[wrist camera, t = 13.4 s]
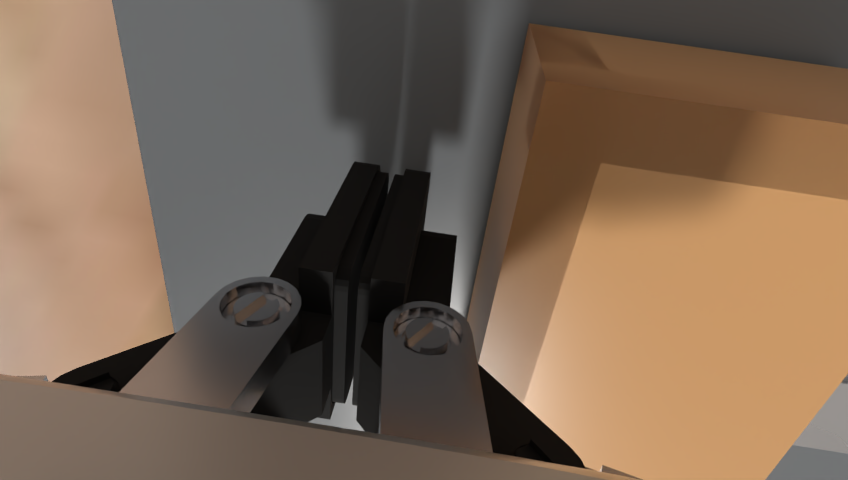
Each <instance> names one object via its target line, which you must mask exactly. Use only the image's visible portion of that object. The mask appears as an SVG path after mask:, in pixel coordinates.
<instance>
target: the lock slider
mask: <svg viewBox="0 0 848 480" xmlns="http://www.w3.org/2000/svg"><path fill="white" fill-rule="evenodd" d="M467 321H468V323H469V325H470V328H471V330H472V334H473V339H474V345H475V351H476V357H477V363H478V364H479V365H480V366H482V367H483V368H484V369H485V370H486V371H487V372H488V373H489V374H490V375H491V376H493V377H494V378H495V379H496V380H497V381H498V382H499V383H500V384H501V385H503V386H504V387H505V388H506V389H507V390H508V391H509V392H510V393H511V394H512V395H514V396H515V397H516V398H517V399H518V400H519V401H520V402H521V403H522V404H524V405H525V406H526V407H527V408H528V409H529V410H530V411H531V412H532V413H533V414H535V415H536V416H537V417H538V418H539V419H540V420H541V421H542V422H543V423H545V424H546V425H547V426H548V427H549V428H550V429H551V430H552V431H553V432H554V433H556V434H557V435H558V436H559V437H560V438H561V439H562V440H563V441H564V442H566V443H567V444H568V445H569V446H570V447H571V448H572V449H573V450H574V452H575V453H576V454H577V455H578V456H579V457H580V459H581V460H582V462H583V464H584V466H585V467H588V468H591V469H593V470H596V471H600V469H601V467H602V465H604V466H607V467H610V468H613V469H615V470H618V471H621V472H624V473H626V474H629V475H632V476H635V477H637V478H640V479H643V480H765V479H766V478H767V477H768V476H769V474H770V473H771V472H772V470H773V469H774V468H775V467H776V465H777V464H778V463H779V461H780V460H781V459H782V458H783V456H784V455H785V454H786V452H787V451H788V450H789V449H790V447H791V446H792V445H793V444H794V442H795V441H796V440H797V438H798V437H799V436H800V435H801V433H802V432H803V431H804V429H805V428H806V427H807V426H808V424H809V423H810V422H811V420H812V419H813V418H814V417H815V415H816V414H817V413H818V411H819V410H820V409H821V408H822V406H823V405H824V404H825V403H826V401H827V400H828V399H829V397H830V396H831V395H832V394H833V392H834V391H835V390H836V388H837V387H838V386H839V385H840V383H841V382H842V381H843V379H844V378H845V377H846V376H847V374H848V69H845V68H838V67H831V66H824V65H817V64H810V63H803V62H796V61H789V60H782V59H775V58H769V57H762V56H755V55H748V54H741V53H734V52H727V51H720V50H713V49H706V48H699V47H692V46H685V45H678V44H671V43H664V42H657V41H650V40H643V39H636V38H629V37H622V36H615V35H608V34H601V33H594V32H587V31H580V30H573V29H566V28H559V27H552V26H545V25H538V24H531V23H529V25H528V30H527V35H526V39H525V44H524V49H523V54H522V59H521V63H520V68H519V73H518V78H517V82H516V87H515V92H514V97H513V102H512V106H511V111H510V116H509V121H508V125H507V130H506V135H505V140H504V145H503V149H502V154H501V159H500V164H499V168H498V173H497V178H496V183H495V188H494V192H493V197H492V202H491V207H490V211H489V216H488V221H487V226H486V231H485V235H484V240H483V245H482V250H481V254H480V259H479V264H478V269H477V274H476V278H475V283H474V288H473V293H472V297H471V302H470V307H469V312H468V317H467Z"/></svg>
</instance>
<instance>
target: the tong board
mask: <svg viewBox="0 0 848 480" xmlns="http://www.w3.org/2000/svg"><path fill="white" fill-rule="evenodd" d="M112 3H113V9H114V14H115V19H116V25H117V30H118V35H119V40H120V46H121V51H122V56H123V62H124V67H125V72H126V78H127V83H128V88H129V94H130V99H131V104H132V109H133V115H134V120H135V125H136V131H137V136H138V141H139V147H140V152H141V157H142V163H143V168H144V173H145V178H146V184H147V189H148V194H149V200H150V205H151V210H152V216H153V221H154V226H155V232H156V237H157V242H158V247H159V253H160V258H161V263H162V269H163V274H164V279H165V285H166V290H167V295H168V301H169V306H170V311H171V316H172V322H173V327H174V332H175V333H177V332H178V331H179V330H180V329H181V328H182V327H183V326H184V325H185V324H186V323H187V322H188V321H189V320H190V319H191V318H192V317H193V316H194V315H195V314H196V313H197V312H198V311H199V310H200V309H201V308H202V307H203V306H204V305H205V304H206V303H207V302H208V301H209V300H210V299H211V298H212V297H213V296H214V294H215V293H216V292H218V291H219V290H220V289H222V288H223V287H224V286H226V285H228V284H230V283H232V282H234V281H237V280H240V279H244V278H249V277H262V276H265V277H270V275H271V273H272V272H273V270H274V268H275V266H276V265H277V263H278V261H279V260H280V258H281V256H282V255H283V253H284V251H285V250H286V248H287V246H288V244H289V243H290V241H291V239H292V238H293V236H294V234H295V233H296V231H297V229H298V228H299V226H300V224H301V222H302V221H303V219H304V217H305V216H306V215H307V214H316V215H323V216H326V214H327V212H328V210H329V208H330V206H331V204H332V202H333V201H334V199H335V197H336V195H337V193H338V191H339V189H340V187H341V185H342V183H343V182H344V180H345V178H346V176H347V174H348V172H349V170H350V168H351V166H352V165H353V163H354V161H355V162H362V163H369V164H376V165H380V169H381V172H385V173H389V184H388V192H389V189H390V187H391V184H392V181H393V178H394V175H395V174H398V175H404V172H405V170H406V169H410V170H417V171H424V172H431V176H430V185H429V193H428V201H427V209H426V217H425V224H424V231H431V232H437V233H444V234H451V235H457V243H456V253H455V263H454V273H453V283H452V293H451V303H450V307H451V308H453V309H454V310H456V311H457V312H459V313H460V314H461V315H462V316H463V317H464V318H465V319H466V320H467V317H468V312H469V307H470V302H471V297H472V293H473V288H474V283H475V278H476V274H477V269H478V264H479V259H480V254H481V250H482V245H483V240H484V235H485V231H486V226H487V221H488V216H489V211H490V207H491V202H492V197H493V192H494V188H495V183H496V178H497V173H498V168H499V164H500V159H501V154H502V149H503V145H504V140H505V135H506V130H507V125H508V121H509V116H510V111H511V106H512V102H513V97H514V92H515V87H516V82H517V78H518V73H519V68H520V63H521V59H522V54H523V49H524V44H525V39H526V35H527V30H528V25H529V23H531V24H538V25H545V26H552V27H559V28H566V29H573V30H580V31H587V32H594V33H601V34H608V35H615V36H622V37H629V38H636V39H643V40H650V41H657V42H664V43H671V44H678V45H685V46H692V47H699V48H706V49H713V50H720V51H727V52H734V53H741V54H748V55H755V56H762V57H769V58H775V59H782V60H789V61H796V62H803V63H810V64H817V65H824V66H831V67H838V68H845V69H848V0H112ZM352 394H353V380H352V383H351V386H350V390H349V393H348V397H347V400H346V402H345V404H344V403H337V402H336V403H335V406H334V409H333V412H332V416H331V419H323V418H315V419H313V420H311V421H309V422H310V423H316V424H322V425H328V426H334V427H341V428H347V429H353V430H359V431H364V430H363V428H362V427H361V426H360V425H359V423H358V422H357V421H356V415H357V406H355V405H352ZM765 480H848V454H846V453H840V452H834V451H827V450H821V449H815V448H808V447H802V446H796V445H792V446H791V447H790V449H789V450H788V451H787V452H786V454H785V455H784V456H783V458H782V459H781V460H780V461H779V463H778V464H777V465H776V467H775V468H774V469H773V470H772V472H771V473H770V474H769V476H768V477H767V478H766V479H765Z"/></svg>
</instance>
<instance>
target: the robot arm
mask: <svg viewBox="0 0 848 480" xmlns="http://www.w3.org/2000/svg"><path fill="white" fill-rule="evenodd" d="M430 176H431V172H424V171H417V170H410V169H406V170H405V172H404V175H398V174H395V175H394V178H393V181H392V184H391V187H390V189H389V192H388V184H389V173H385V172H381V169H380V165H376V164H369V163H362V162H355V161H354V163H353V165H352V166H351V168H350V170H349V172H348V174H347V176H346V178H345V180H344V182H343V183H342V185H341V187H340V189H339V191H338V193H337V195H336V197H335V199H334V201H333V202H332V204H331V206H330V208H329V210H328V212H327V214H326V216H323V215H316V214H307V215H306V216H305V217H304V219H303V221H302V222H301V224H300V226H299V228H298V229H297V231H296V233H295V234H294V236H293V238H292V239H291V241H290V243H289V244H288V246H287V248H286V250H285V251H284V253H283V255H282V256H281V258H280V260H279V261H278V263H277V265H276V266H275V268H274V270H273V272H272V273H271V275H270V277H265V276H262V277H249V278H244V279H240V280H237V281H234V282H232V283H230V284H228V285H226V286H224V287H223V288H222V289H220V290H219V291H218V292H216V293H215V294H214V296H213V297H212V298H211V299H210V300H209V301H208V302H207V303H206V304H205V305H204V306H203V307H202V308H201V309H200V310H199V311H198V312H197V313H196V314H195V315H194V316H193V317H192V318H191V319H190V320H189V321H188V322H187V323H186V324H185V325H184V326H183V327H182V328H181V329H180V330H179V331H178V332H177V333H174V334H171V335H168V336H165V337H163V338H160V339H157V340H154V341H151V342H149V343H146V344H143V345H140V346H137V347H135V348H132V349H129V350H126V351H123V352H121V353H118V354H115V355H112V356H110V357H107V358H104V359H101V360H98V361H96V362H93V363H90V364H87V365H84V366H82V367H79V368H76V369H74V370H72V371H70V372H67V373H65V374H63V375H61V376H59V377H58V378H56V379H55V380H54V381H52V382H49V381H48V379H47V377H46V376H9V375H2V374H0V480H643V479H640V478H637V477H635V476H632V475H629V474H626V473H624V472H621V471H618V470H615V469H613V468H610V467H607V466H604V465H602V467H601V469H600V471H596V470H593V469H591V468H588V467H585V466H584V464H583V462H582V460H581V459H580V457H579V456H578V455H577V454H576V453H575V452H574V450H573V449H572V448H571V447H570V446H569V445H568V444H567V443H566V442H564V441H563V440H562V439H561V438H560V437H559V436H558V435H557V434H556V433H554V432H553V431H552V430H551V429H550V428H549V427H548V426H547V425H546V424H545V423H543V422H542V421H541V420H540V419H539V418H538V417H537V416H536V415H535V414H533V413H532V412H531V411H530V410H529V409H528V408H527V407H526V406H525V405H524V404H522V403H521V402H520V401H519V400H518V399H517V398H516V397H515V396H514V395H512V394H511V393H510V392H509V391H508V390H507V389H506V388H505V387H504V386H503V385H501V384H500V383H499V382H498V381H497V380H496V379H495V378H494V377H493V376H491V375H490V374H489V373H488V372H487V371H486V370H485V369H484V368H483V367H482V366H480V365H479V364H478V363H477V357H476V351H475V345H474V339H473V334H472V330H471V328H470V325H469V323H468V321H467V320H466V319H465V318H464V317H463V316H462V315H461V314H460V313H459V312H457V311H456V310H454V309H453V308H451V307H450V303H451V293H452V283H453V273H454V263H455V253H456V243H457V235H451V234H444V233H437V232H431V231H424V224H425V217H426V209H427V201H428V193H429V185H430ZM352 380H353V394H352V405H355V406H357V415H356V421H357V422H358V423H359V425H360V426H361V427H362V428H363V430H364V431H359V430H353V429H347V428H341V427H334V426H328V425H322V424H316V423H310V422H309V421H311V420H313V419H315V418H323V419H331V416H332V412H333V409H334V406H335V403H336V402H337V403H344V404H345V402H346V400H347V397H348V393H349V390H350V386H351V383H352Z"/></svg>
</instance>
